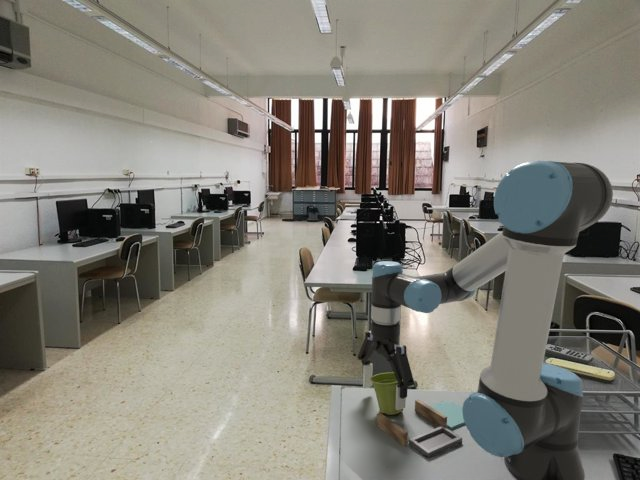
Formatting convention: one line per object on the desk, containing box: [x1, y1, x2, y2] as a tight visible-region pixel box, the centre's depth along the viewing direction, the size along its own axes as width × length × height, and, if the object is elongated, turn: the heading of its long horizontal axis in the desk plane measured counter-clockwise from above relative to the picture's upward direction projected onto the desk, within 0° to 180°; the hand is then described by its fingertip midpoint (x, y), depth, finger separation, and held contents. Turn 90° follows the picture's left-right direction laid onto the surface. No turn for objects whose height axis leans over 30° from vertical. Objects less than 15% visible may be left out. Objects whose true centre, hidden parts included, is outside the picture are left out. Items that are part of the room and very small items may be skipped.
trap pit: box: [408, 425, 463, 459], centre depth 99 cm, size 6×11×1 cm, turn 122°
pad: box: [429, 401, 465, 431], centre depth 112 cm, size 10×10×1 cm
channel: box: [376, 399, 448, 447], centre depth 106 cm, size 10×14×3 cm
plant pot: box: [370, 372, 404, 416], centre depth 112 cm, size 9×9×9 cm
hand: (383, 397), depth 115 cm, fingers open, 13 cm apart
